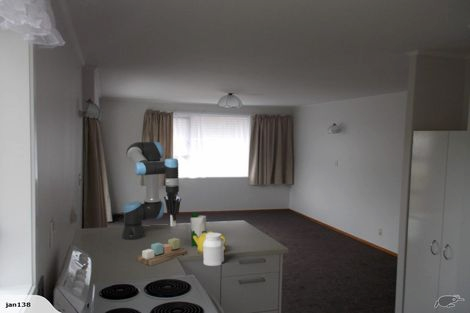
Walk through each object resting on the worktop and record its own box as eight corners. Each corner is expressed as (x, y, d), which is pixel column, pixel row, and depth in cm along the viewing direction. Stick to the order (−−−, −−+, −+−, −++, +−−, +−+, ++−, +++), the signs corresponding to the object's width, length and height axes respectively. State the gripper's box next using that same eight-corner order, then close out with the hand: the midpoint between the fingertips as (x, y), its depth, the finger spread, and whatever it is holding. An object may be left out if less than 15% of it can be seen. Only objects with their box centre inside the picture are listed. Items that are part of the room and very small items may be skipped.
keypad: (135, 260, 203) (135, 256, 202) (171, 249, 222) (170, 245, 221) (151, 266, 193) (151, 261, 193) (186, 254, 212) (186, 249, 212)
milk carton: (194, 243, 235) (193, 211, 234) (208, 243, 233) (207, 212, 232) (189, 247, 226) (189, 214, 225) (204, 247, 224) (203, 215, 223)
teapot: (189, 253, 214) (189, 233, 213) (197, 247, 225) (197, 228, 225) (222, 256, 208) (221, 235, 207) (228, 249, 220) (228, 230, 219)
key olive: (168, 248, 214) (168, 239, 214) (174, 246, 217) (174, 237, 217) (173, 249, 211) (173, 240, 211) (179, 247, 214) (179, 239, 214)
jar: (219, 266, 191) (218, 238, 190) (201, 265, 193) (201, 237, 192) (225, 259, 202) (224, 232, 201) (208, 258, 204) (207, 231, 204)
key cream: (142, 259, 200) (142, 250, 200) (149, 257, 204) (149, 248, 204) (147, 261, 197) (147, 252, 197) (154, 259, 201) (154, 250, 201)
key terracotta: (160, 254, 209) (159, 245, 209) (166, 252, 213) (166, 243, 213) (165, 255, 206) (165, 247, 206) (171, 253, 210) (171, 245, 210)
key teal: (151, 253, 205) (151, 244, 205) (158, 251, 208) (157, 242, 208) (156, 254, 202) (156, 245, 202) (163, 252, 205) (163, 243, 205)
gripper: (159, 185, 214) (160, 225, 215) (174, 186, 205) (175, 228, 206) (170, 183, 219) (171, 223, 220) (184, 185, 211) (185, 226, 212)
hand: (173, 225), depth 213 cm, fingers closed
